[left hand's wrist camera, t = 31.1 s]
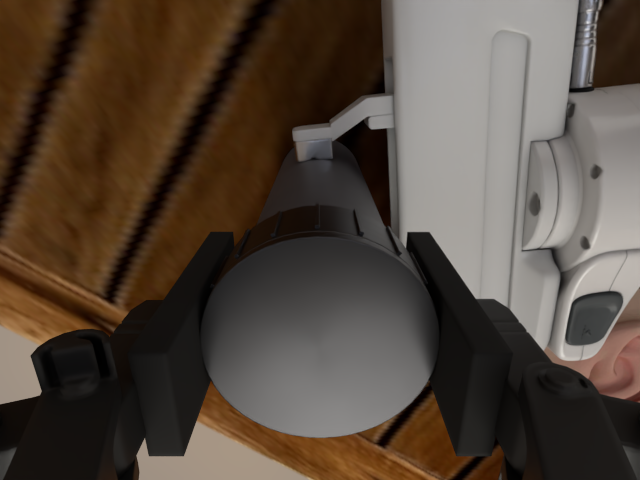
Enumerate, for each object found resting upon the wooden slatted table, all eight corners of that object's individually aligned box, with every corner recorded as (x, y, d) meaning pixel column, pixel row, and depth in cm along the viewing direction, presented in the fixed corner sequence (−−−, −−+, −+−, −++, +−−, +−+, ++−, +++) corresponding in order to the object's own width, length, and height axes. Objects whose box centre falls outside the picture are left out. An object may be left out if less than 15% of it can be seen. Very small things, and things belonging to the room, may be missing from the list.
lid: (356, 405, 14) (363, 468, 12) (187, 332, 13) (159, 386, 11) (462, 263, 12) (494, 307, 10) (273, 162, 11) (261, 185, 9)
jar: (305, 121, 26) (281, 196, 10) (375, 163, 27) (455, 292, 11) (266, 192, 27) (192, 350, 12) (333, 229, 28) (350, 422, 13)
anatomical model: (487, 445, 30) (523, 310, 26) (469, 405, 34) (498, 281, 30) (665, 452, 30) (730, 319, 26) (627, 411, 34) (679, 289, 30)
